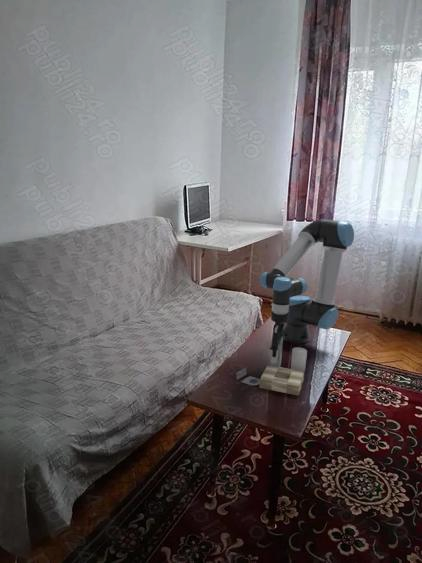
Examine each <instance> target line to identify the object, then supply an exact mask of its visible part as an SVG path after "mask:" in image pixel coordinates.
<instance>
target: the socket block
mask: <svg viewBox="0 0 422 563" xmlns="http://www.w3.org/2000/svg"><path fill="white" fill-rule="evenodd" d="M259 379H260V384H259V389H265V390H269V391H274V392H279V393H284V394H289V395H293V396H299V395H300V392H301V389H302V386H303V383H304V380H305V371H298V370H293V369H291V368H287V367H282V366H280V367H277V366H272V365H271V364H267V365H266V368H264V370H263V373H262V374H261V377H260V378H259Z"/></svg>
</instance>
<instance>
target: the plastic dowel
mask: <svg viewBox="0 0 422 563" xmlns="http://www.w3.org/2000/svg"><path fill="white" fill-rule="evenodd" d="M307 355H308V350H307V349H306V348H303V347H293V348H292V351H291V359H290V360H291V361H290V369H293V370H298V371H304V372H305V371H306V365H307V364H306V363H307V357H308V356H307Z"/></svg>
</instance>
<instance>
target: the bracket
mask: <svg viewBox="0 0 422 563" xmlns="http://www.w3.org/2000/svg"><path fill="white" fill-rule="evenodd" d="M246 375H247V368H246V367H245V368H244V369H242V370H239V371H237V372H236V380H239V379H241V378H243V377H245V376H246ZM240 382H241V383H244V384H246V385H249V386H260V378H256V377H254V376H251V375H249V376H247V377H245V378H244V379H242V380H240Z"/></svg>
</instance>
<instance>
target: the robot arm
mask: <svg viewBox="0 0 422 563" xmlns="http://www.w3.org/2000/svg"><path fill="white" fill-rule="evenodd" d="M354 230H355V229H354V227H353V225H352V224H351V223H350V222H348V221H343V220H334V219H326V218H320V219H315V220H314V221H311V222H310V223H308V224H307V225H305V227H304V228H302V229H301V231H300V232H299V233H298V234H297V235H298V236H297V239H296V240H295V241H294V243H293V244H292V245H291V246H290V247H289V249H288V250H287V251H286V252H285V253H284V255H283V256H282V257H281V258H280V260H279V261H278V262H277V264H276V265H275V266H274V267H273V268H272V270H270V272H269V271H265V272H262V274H261V275H260V278H259V283H260V286H261V287H263V288H265V289H268V290H272V299H271V300H272V301H271V302H272V303H270V306H272V307H271V313H270V320H271V321H272V322H274V325H273V327H272V328H273V329H272V337H271V338H272V339H271V345H270V346H271V347H269V350H271V357H270V364H271V363H276V364H277V358H278V344H279V338H280V336H283V342H285V340H287V341H290V342H289V343H291V342H294V343H293V344H306V343H308V342H310V341H311V335H310V331H309V330H310V329H309V326H312V327H316V328H318V329H321V330H329V329H331V328H332V327H333V326H334V325H335V324H336V322H337V320H338V317H339V311H338V309H337V308H336V303H335V301H334V296H335V292H336V287H337V283H338V277H339V273H340V267H341V264H342V263H341V261H342V257H343V254H344V252H346V251H347V248H348V247H351V246H352V244H353V242H354V241H355V240H354V239H355V231H354ZM317 243H322V247H323V249H324V253H323V258H322V263H321V267H320V268H321V269H320V273H319V279H318V284H317V288H316V294H315V297H313V298H311V297H310V296H307V295H302V294H304V293H305V292H306V291H307V290H308V283H307V281H306V280H305V279H304V278H302V277H295V278H292V277H289V276H288V275H290V274H291V271H293V269H294V268H295V267H296V266H297V264H298V263H299V261H301V259H302V258H303V256H304V255H305V254H306V253H307V252H308V250H310V247H311V248H312V247H313V246H315V245H316V244H317ZM308 325H309V326H308ZM284 339H285V340H284ZM287 341H286V342H287ZM305 342H306V343H305Z"/></svg>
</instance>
